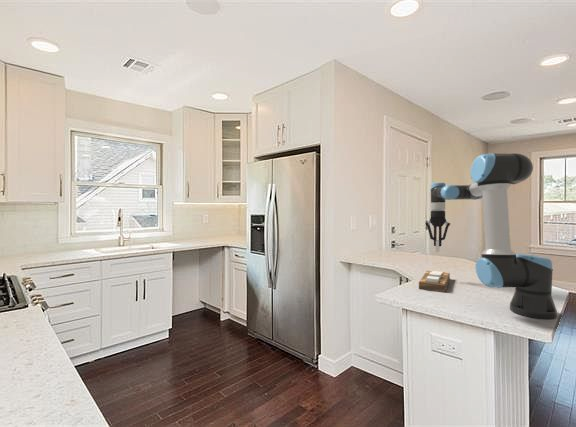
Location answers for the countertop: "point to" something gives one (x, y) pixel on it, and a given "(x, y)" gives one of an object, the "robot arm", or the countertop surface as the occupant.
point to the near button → (433, 279)
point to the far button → (438, 272)
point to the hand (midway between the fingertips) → (437, 252)
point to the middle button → (435, 274)
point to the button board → (434, 286)
